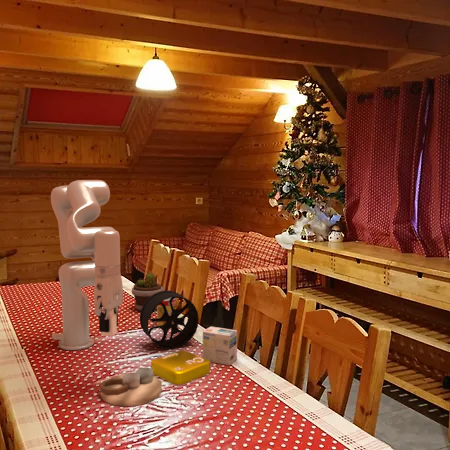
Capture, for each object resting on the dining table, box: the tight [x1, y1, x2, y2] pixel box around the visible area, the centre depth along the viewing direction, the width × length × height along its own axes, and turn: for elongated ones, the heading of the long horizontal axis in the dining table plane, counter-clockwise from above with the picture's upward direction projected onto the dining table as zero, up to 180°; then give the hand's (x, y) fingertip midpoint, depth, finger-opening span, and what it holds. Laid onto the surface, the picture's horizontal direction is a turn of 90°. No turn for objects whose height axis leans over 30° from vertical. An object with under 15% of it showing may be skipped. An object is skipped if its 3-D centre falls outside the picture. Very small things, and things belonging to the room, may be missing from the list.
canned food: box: [156, 298, 177, 326], centre depth 211 cm, size 8×8×12 cm
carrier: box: [99, 367, 163, 407], centre depth 149 cm, size 18×18×5 cm
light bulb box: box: [202, 326, 238, 366], centre depth 174 cm, size 11×7×11 cm, turn 65°
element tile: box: [150, 349, 211, 386], centre depth 164 cm, size 15×15×5 cm
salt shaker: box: [100, 307, 118, 337], centre depth 153 cm, size 4×4×10 cm
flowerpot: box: [131, 270, 164, 312], centre depth 235 cm, size 14×15×20 cm
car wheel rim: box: [139, 290, 200, 350], centre depth 188 cm, size 20×10×20 cm, turn 116°
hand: (108, 328), depth 153 cm, fingers closed on salt shaker, 4 cm apart
